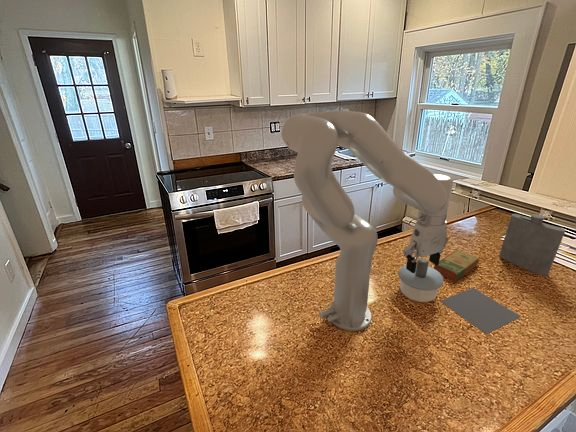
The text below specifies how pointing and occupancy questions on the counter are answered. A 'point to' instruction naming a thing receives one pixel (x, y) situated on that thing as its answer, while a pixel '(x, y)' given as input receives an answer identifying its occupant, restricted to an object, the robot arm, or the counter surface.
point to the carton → (456, 265)
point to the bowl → (417, 293)
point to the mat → (480, 310)
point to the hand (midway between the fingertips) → (422, 266)
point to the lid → (421, 276)
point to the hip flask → (531, 243)
